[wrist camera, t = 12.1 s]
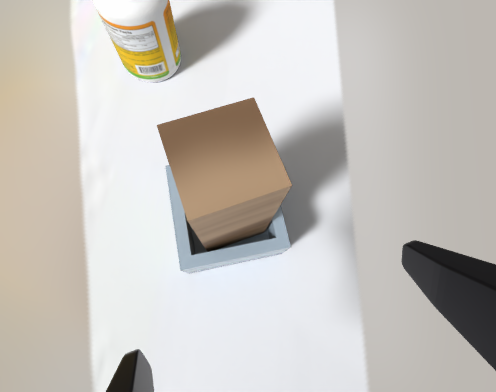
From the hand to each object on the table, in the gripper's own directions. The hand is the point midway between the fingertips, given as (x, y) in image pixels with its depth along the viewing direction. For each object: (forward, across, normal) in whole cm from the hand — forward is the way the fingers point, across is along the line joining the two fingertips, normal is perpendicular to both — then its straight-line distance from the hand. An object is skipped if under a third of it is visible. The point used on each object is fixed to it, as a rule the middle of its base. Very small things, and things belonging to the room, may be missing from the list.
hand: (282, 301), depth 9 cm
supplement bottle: (+26, +2, -6) cm, 27 cm away
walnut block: (+13, 0, +5) cm, 14 cm away
